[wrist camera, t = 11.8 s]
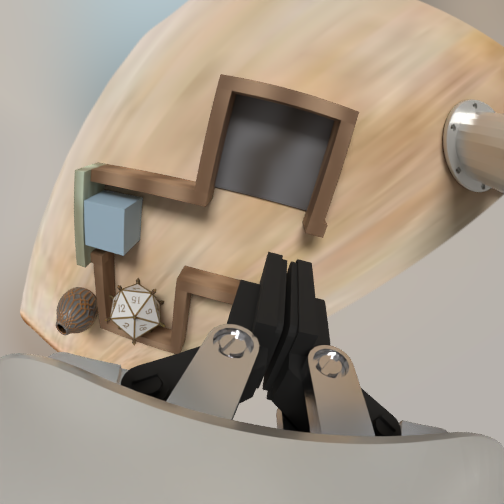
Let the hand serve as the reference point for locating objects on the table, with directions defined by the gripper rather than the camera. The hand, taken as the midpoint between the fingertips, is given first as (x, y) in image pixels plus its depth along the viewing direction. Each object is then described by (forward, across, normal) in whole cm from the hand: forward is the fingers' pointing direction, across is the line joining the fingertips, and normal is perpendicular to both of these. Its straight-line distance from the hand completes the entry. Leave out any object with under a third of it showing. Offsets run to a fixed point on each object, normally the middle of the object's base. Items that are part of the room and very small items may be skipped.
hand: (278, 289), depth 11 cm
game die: (+21, +16, +21) cm, 34 cm away
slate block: (+21, +20, +9) cm, 31 cm away
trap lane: (+22, +9, +10) cm, 25 cm away
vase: (+21, +27, +26) cm, 43 cm away
